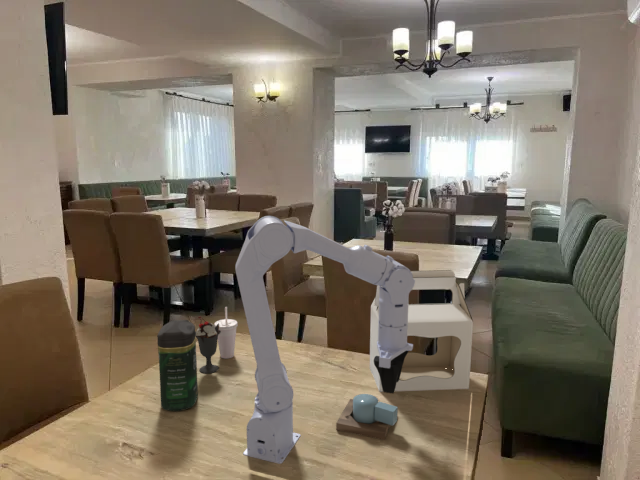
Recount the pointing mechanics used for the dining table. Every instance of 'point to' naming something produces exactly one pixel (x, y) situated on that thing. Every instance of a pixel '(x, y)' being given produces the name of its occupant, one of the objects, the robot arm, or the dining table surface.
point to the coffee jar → (177, 365)
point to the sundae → (207, 344)
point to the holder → (360, 425)
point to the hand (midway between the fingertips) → (391, 386)
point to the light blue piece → (373, 410)
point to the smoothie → (226, 336)
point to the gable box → (432, 322)
